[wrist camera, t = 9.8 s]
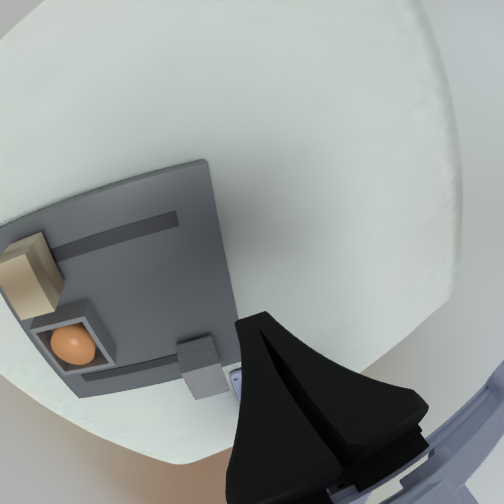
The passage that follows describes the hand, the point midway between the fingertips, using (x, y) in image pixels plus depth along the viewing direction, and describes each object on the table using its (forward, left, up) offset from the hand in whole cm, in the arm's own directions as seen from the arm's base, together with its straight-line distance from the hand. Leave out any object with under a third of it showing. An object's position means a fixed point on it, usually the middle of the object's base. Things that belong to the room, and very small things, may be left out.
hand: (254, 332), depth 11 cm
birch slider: (+2, +12, -8) cm, 15 cm away
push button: (-4, +12, -8) cm, 16 cm away
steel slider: (-10, +3, -8) cm, 13 cm away
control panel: (-4, +8, -10) cm, 14 cm away
